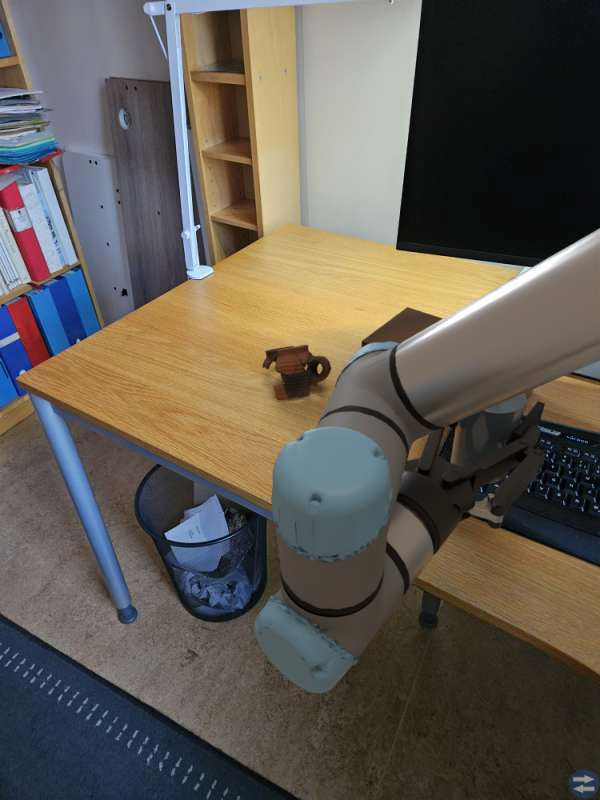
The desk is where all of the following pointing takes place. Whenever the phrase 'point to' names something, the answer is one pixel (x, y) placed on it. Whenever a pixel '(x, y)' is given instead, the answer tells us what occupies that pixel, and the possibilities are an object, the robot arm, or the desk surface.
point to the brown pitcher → (296, 370)
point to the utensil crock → (487, 431)
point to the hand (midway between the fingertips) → (507, 400)
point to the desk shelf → (405, 328)
